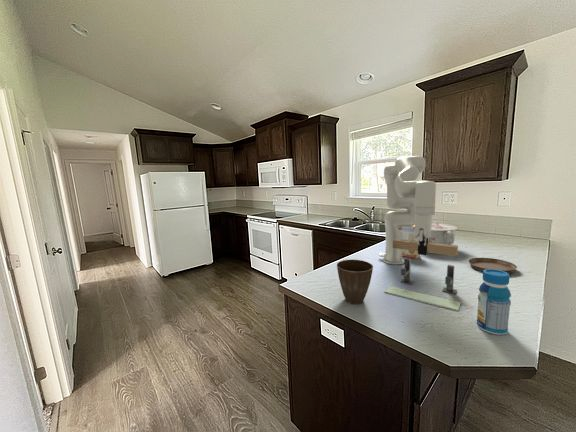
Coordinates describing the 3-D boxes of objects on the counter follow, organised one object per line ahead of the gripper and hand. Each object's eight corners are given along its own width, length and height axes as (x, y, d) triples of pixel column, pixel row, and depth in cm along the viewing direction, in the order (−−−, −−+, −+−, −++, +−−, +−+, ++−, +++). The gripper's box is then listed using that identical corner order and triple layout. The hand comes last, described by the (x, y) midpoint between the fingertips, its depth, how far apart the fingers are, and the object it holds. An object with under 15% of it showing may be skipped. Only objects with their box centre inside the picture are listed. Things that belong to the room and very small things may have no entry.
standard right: (440, 295, 108) (441, 269, 106) (443, 288, 115) (445, 263, 113) (454, 298, 105) (455, 271, 103) (456, 291, 112) (458, 265, 110)
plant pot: (378, 298, 108) (378, 263, 106) (363, 313, 97) (363, 274, 95) (347, 289, 118) (347, 257, 116) (330, 301, 107) (330, 266, 105)
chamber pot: (415, 243, 194) (416, 217, 191) (457, 247, 178) (459, 218, 175) (408, 252, 172) (409, 222, 169) (455, 258, 155) (457, 225, 153)
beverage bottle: (498, 338, 79) (504, 279, 76) (470, 325, 86) (474, 270, 83) (513, 331, 82) (519, 274, 79) (485, 319, 90) (489, 266, 87)
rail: (392, 247, 112) (392, 240, 111) (395, 246, 114) (395, 238, 114) (456, 256, 96) (457, 247, 96) (457, 253, 99) (458, 245, 99)
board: (384, 292, 113) (384, 291, 113) (389, 287, 119) (389, 286, 118) (458, 311, 95) (458, 309, 95) (460, 303, 101) (460, 302, 101)
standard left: (397, 285, 120) (397, 262, 118) (402, 279, 126) (403, 257, 125) (408, 288, 116) (409, 264, 115) (413, 281, 123) (414, 258, 121)
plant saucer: (472, 273, 131) (473, 267, 131) (464, 261, 150) (464, 255, 149) (523, 278, 122) (524, 272, 122) (508, 264, 141) (508, 259, 140)
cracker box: (420, 257, 160) (421, 225, 157) (416, 259, 156) (417, 226, 153) (399, 252, 171) (400, 223, 168) (394, 254, 167) (395, 224, 164)
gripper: (419, 208, 112) (417, 247, 114) (409, 212, 99) (408, 257, 102) (438, 209, 107) (436, 250, 109) (431, 213, 94) (429, 260, 97)
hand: (423, 252), depth 106 cm, fingers closed on rail, 3 cm apart
